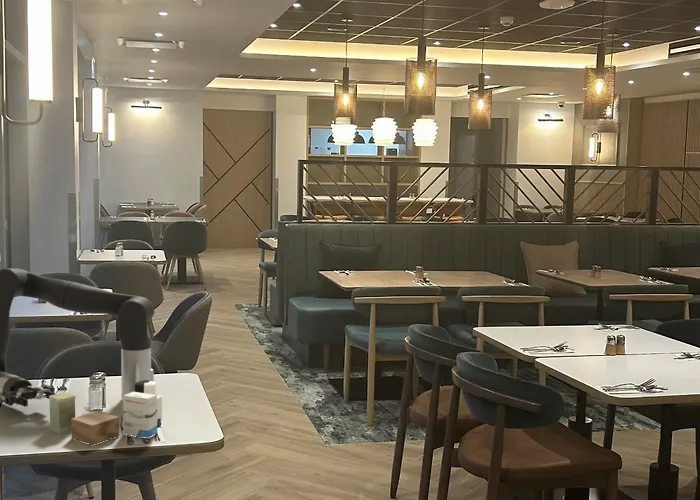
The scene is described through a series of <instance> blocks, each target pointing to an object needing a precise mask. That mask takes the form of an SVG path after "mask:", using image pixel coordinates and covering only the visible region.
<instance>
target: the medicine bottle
mask: <svg viewBox="0 0 700 500" xmlns="http://www.w3.org/2000/svg"><path fill="white" fill-rule="evenodd" d="M156 387H157V383H156V382H155V381H154V382H153V381H150V380H142V381H139V382H137V383H135V392H139V393H146V394H153V395H157V393H156V392H157V391H156V390H157V389H156ZM158 419H160V420H162V419H163V396H162V395H157V420H158ZM158 421H159V420H158Z"/></svg>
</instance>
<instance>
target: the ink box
mask: <svg viewBox="0 0 700 500" xmlns="http://www.w3.org/2000/svg"><path fill="white" fill-rule="evenodd" d="M157 396H158V395H157V394H156V395H153V394H146V393H139V392H131V393H128V394H126V395H124V396H123V401H122V428H123V429H122V431H123V433H122V434H123V436H124V435H126V434H128V435H132V436H136V437H150V436H152V435H154V434H156V433H157V434H158V421H157ZM136 437H135V438H136Z"/></svg>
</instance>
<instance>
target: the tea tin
mask: <svg viewBox="0 0 700 500" xmlns="http://www.w3.org/2000/svg"><path fill="white" fill-rule="evenodd" d="M76 398H77V397H76V395H74V394H71V393H69V392H66V391H64V392H59V393H55V395H51V396H49V399H48V400H49V429H50V431H51V432H53V433H55V432H56V434H57V433H58V435H62V434H61V433H63V434H66V433H70V432H71V419H72V418H75V417H76ZM65 432H66V433H65Z"/></svg>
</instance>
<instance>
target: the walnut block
mask: <svg viewBox="0 0 700 500" xmlns="http://www.w3.org/2000/svg"><path fill="white" fill-rule="evenodd" d="M119 418H120V417H119V416H117V415H113V414H110V413H107V412H104V411H102V410H96V411H95V410H94V411H92V412H89V413H86V414H82V415H79V416H75V418H72V419H71V431H70V432H71V434H70V435H71V439H72V438H73V439H75V440H74V441H76V440H78V441H77V442H79V441H82V442H85V443H89V444H91V445H94V444H97V443H100V442H103V441H106V440H109V439H111V438H114V437H117V438H119V437H120V422H119V421H120V419H119ZM118 436H119V437H118ZM73 439H72V440H73ZM109 441H110V440H109ZM82 442H81V443H82ZM106 442H107V441H106ZM85 443H84V444H85ZM103 443H104V442H103ZM100 444H101V443H100ZM97 445H98V444H97ZM94 446H95V445H94Z"/></svg>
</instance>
